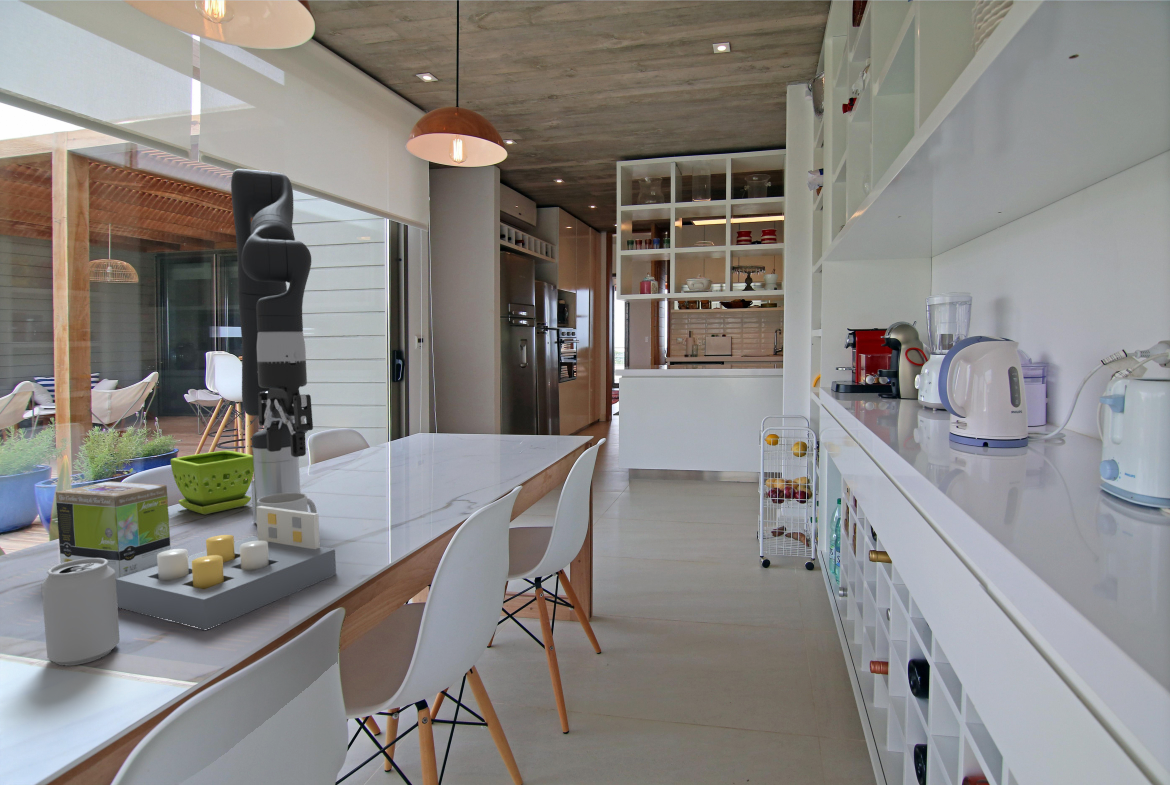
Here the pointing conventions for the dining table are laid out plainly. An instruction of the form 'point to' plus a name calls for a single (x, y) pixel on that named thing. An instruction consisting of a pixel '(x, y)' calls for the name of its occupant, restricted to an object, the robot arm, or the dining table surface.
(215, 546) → the amber button
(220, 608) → the console
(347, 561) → the dining table surface
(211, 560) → the amber button
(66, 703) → the dining table surface
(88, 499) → the tea box
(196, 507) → the flower pot
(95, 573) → the can
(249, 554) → the cream button
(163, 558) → the cream button
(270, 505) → the mug
